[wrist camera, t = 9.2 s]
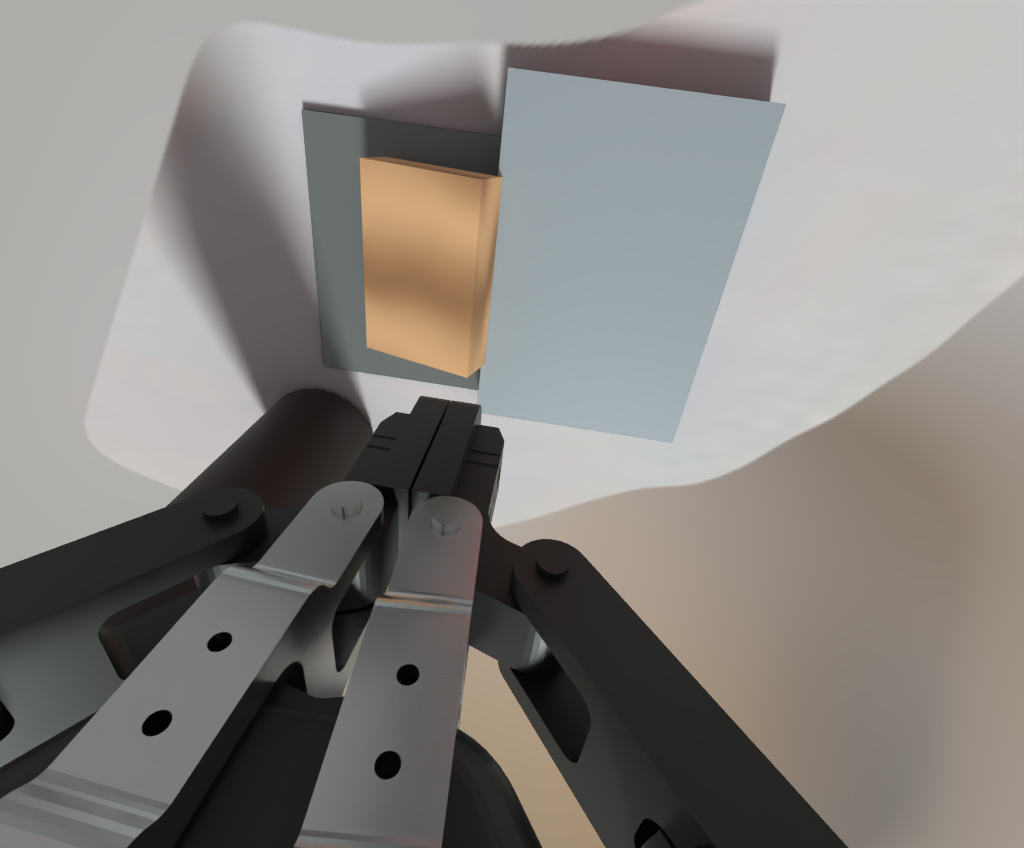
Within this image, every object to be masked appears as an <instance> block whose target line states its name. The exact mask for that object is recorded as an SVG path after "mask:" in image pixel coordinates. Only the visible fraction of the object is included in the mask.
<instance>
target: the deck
mask: <svg viewBox="0 0 1024 848" xmlns="http://www.w3.org/2000/svg"><path fill="white" fill-rule="evenodd" d="M785 106H786V104H782V103H774V102H767V101H759V100H752V99H744V98H737V97H729V96H721V95H714V94H706V93H699V92H691V91H683V90H676V89H668V88H661V87H653V86H646V85H638V84H630V83H623V82H615V81H608V80H600V79H592V78H585V77H577V76H570V75H562V74H555V73H547V72H539V71H532V70H524V69H517V68H509V67H508V73H507V84H506V95H505V106H504V117H503V128H502V139H501V150H500V161H499V172H498V176H499V177H502V186H501V196H500V207H499V217H498V228H497V239H496V249H495V260H494V270H493V281H492V292H491V302H490V313H489V323H488V334H487V345H486V355H485V364H484V365H483V366H481V370H480V381H479V392H478V403H477V404H478V405H481V406H482V412H481V413H484V414H490V415H497V416H503V417H510V418H516V419H522V420H529V421H535V422H542V423H548V424H554V425H561V426H567V427H574V428H580V429H587V430H593V431H599V432H606V433H612V434H619V435H625V436H632V437H638V438H644V439H651V440H657V441H664V442H670V443H672V442H673V439H674V436H675V433H676V430H677V427H678V424H679V421H680V418H681V415H682V412H683V409H684V406H685V403H686V400H687V398H688V395H689V392H690V389H691V386H692V383H693V380H694V377H695V374H696V371H697V368H698V365H699V362H700V359H701V356H702V353H703V350H704V347H705V344H706V341H707V338H708V335H709V332H710V329H711V326H712V323H713V320H714V317H715V314H716V311H717V308H718V305H719V302H720V299H721V296H722V293H723V290H724V287H725V284H726V281H727V278H728V275H729V272H730V269H731V267H732V264H733V261H734V258H735V255H736V252H737V249H738V246H739V243H740V240H741V237H742V234H743V231H744V228H745V225H746V222H747V219H748V216H749V213H750V210H751V207H752V204H753V201H754V198H755V195H756V192H757V189H758V186H759V183H760V180H761V177H762V174H763V171H764V168H765V165H766V162H767V159H768V156H769V153H770V150H771V147H772V144H773V141H774V138H775V136H776V133H777V130H778V127H779V124H780V121H781V118H782V115H783V112H784V109H785Z"/></svg>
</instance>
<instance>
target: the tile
mask: <svg viewBox="0 0 1024 848" xmlns="http://www.w3.org/2000/svg"><path fill="white" fill-rule="evenodd" d="M360 180H361V206H362V233H363V259H364V286H365V312H366V339H367V347H368V348H371V349H374V350H377V351H381V352H384V353H387V354H390V355H394V356H397V357H400V358H404V359H407V360H410V361H413V362H417V363H420V364H423V365H426V366H430V367H433V368H436V369H440V370H443V371H446V372H449V373H453V374H456V375H459V376H462V377H466V378H468V377H469V376H470V375H471V374H473V373H474V372H475V371H476V370H478V369H479V368H480V367H481V366H483V365H484V364H485V355H486V345H487V334H488V323H489V313H490V302H491V292H492V281H493V270H494V260H495V249H496V239H497V228H498V217H499V207H500V196H501V186H502V177H499V176H493V175H488V174H482V173H476V172H471V171H465V170H459V169H454V168H448V167H442V166H437V165H431V164H425V163H420V162H414V161H408V160H402V159H397V158H391V157H364V158H360Z"/></svg>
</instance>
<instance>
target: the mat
mask: <svg viewBox="0 0 1024 848" xmlns="http://www.w3.org/2000/svg"><path fill="white" fill-rule="evenodd" d="M302 119H303V131H304V142H305V154H306V166H307V177H308V189H309V200H310V212H311V223H312V235H313V247H314V258H315V270H316V281H317V293H318V304H319V316H320V328H321V339H322V351H323V362H324V366H325V367H331V368H338V369H344V370H351V371H357V372H364V373H370V374H377V375H383V376H390V377H396V378H403V379H409V380H416V381H422V382H429V383H435V384H442V385H448V386H455V387H461V388H467V389H474V390H479V381H480V370H481V367H480V368H479V369H478V370H476V371H475V372H474V373H473V374H471V375H470V376H469V377H468V378H466V377H462V376H459V375H456V374H453V373H449V372H446V371H443V370H440V369H436V368H433V367H430V366H426V365H423V364H420V363H417V362H413V361H410V360H407V359H404V358H400V357H397V356H394V355H390V354H387V353H384V352H381V351H377V350H374V349H371V348H368V347H367V339H366V312H365V286H364V259H363V233H362V206H361V180H360V158H364V157H391V158H397V159H402V160H408V161H414V162H420V163H425V164H431V165H437V166H442V167H448V168H454V169H459V170H465V171H471V172H476V173H482V174H488V175H493V176H498V172H499V161H500V150H501V139H502V137H501V136H493V135H486V134H479V133H471V132H464V131H457V130H449V129H442V128H435V127H427V126H420V125H413V124H405V123H398V122H391V121H383V120H376V119H369V118H362V117H354V116H347V115H340V114H332V113H325V112H318V111H310V110H302Z"/></svg>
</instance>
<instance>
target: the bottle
mask: <svg viewBox="0 0 1024 848" xmlns="http://www.w3.org/2000/svg"><path fill="white" fill-rule="evenodd" d="M371 437H372V434H371V430H370V427H369V426H368V424H367V422H366V421H365V419H364V417H363V416H362V414H361V413H360V412H359V411H358V410H357V409H355V408H354V407H353V406H352V405H351V404H350V403H349V402H347V401H346V400H344V399H342V398H340V397H339V396H337V395H335V394H333V393H329V392H325V391H322V390H318V389H301V390H298V391H295V392H292V393H290V394H287V395H285V396H283V397H282V398H281V399H280V400H279V401H278V402H277V403H276V404H275V405H274V406H273V407H271V408H270V409H269V410H268V411H267V412H266V413H265V414H264V415H263V416H262V417H261V418H260V419H259V420H258V421H257V422H256V423H254V424H253V425H252V426H251V427H250V428H249V429H248V430H247V431H246V432H245V433H244V434H243V435H242V436H241V437H240V438H239V439H237V440H236V441H235V442H234V443H233V444H232V445H231V446H230V447H229V448H228V449H227V450H226V451H225V452H224V453H223V454H222V455H221V456H219V457H218V458H217V459H216V460H215V461H214V462H213V463H212V464H211V465H210V466H209V467H208V468H207V469H206V470H205V471H204V472H202V473H201V474H200V475H199V476H198V477H197V478H196V479H195V480H194V481H193V482H192V483H191V484H190V485H189V486H188V487H187V488H185V489H184V490H183V491H182V492H181V493H180V494H179V495H178V496H177V497H176V498H175V499H174V500H173V501H172V502H171V503H170V504H168V505H167V506H166V507H168V506H170V505H173V504H176V503H179V502H181V501H184V500H187V499H189V498H192V497H195V496H197V495H200V494H203V493H206V492H209V491H212V490H215V489H220V488H227V487H239V488H245V489H249V490H252V491H254V492H255V493H257V494H258V495H259V496H260V497H261V499H262V501H263V505H264V509H278V508H292V507H302V506H305V505H306V504H307V503H308V501H309V500H310V499H311V498H312V497H313V496H314V494H315V493H316V492H318V491H319V490H321V489H322V488H324V487H326V486H328V485H331V484H334V483H337V482H343V481H344V479H345V477H346V476H347V474H348V473H349V471H350V470H351V468H352V467H353V465H354V463H355V462H356V460H357V459H358V457H359V456H360V454H361V452H362V451H363V449H364V448H366V445H367V443H368V442H369V440H370V438H371ZM196 589H198V588H197V585H196V582H195V579H194V577H192V578H189V579H187V580H185V581H183V582H181V583H179V584H176V585H174V586H172V587H170V588H168V589H166V590H163V591H161V592H159V593H157V594H155V595H153V596H150V597H148V598H146V599H144V600H142V601H140V602H137V603H135V604H133V605H131V606H129V607H127V608H124V609H122V610H120V611H118V612H116V613H114V614H113V615H111V616H110V617H109V618H108V619H106V620H105V621H104V622H103V624H102V625H101V626H104V627H115V626H119V625H122V624H125V623H127V622H129V621H131V620H133V619H135V618H137V617H140V616H142V615H144V614H146V613H148V612H150V611H152V610H154V609H156V608H158V607H161V606H163V605H165V604H167V603H169V602H171V601H173V600H175V599H177V598H179V597H181V596H184V595H186V594H188V593H190V592H192V591H194V590H196Z"/></svg>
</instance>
